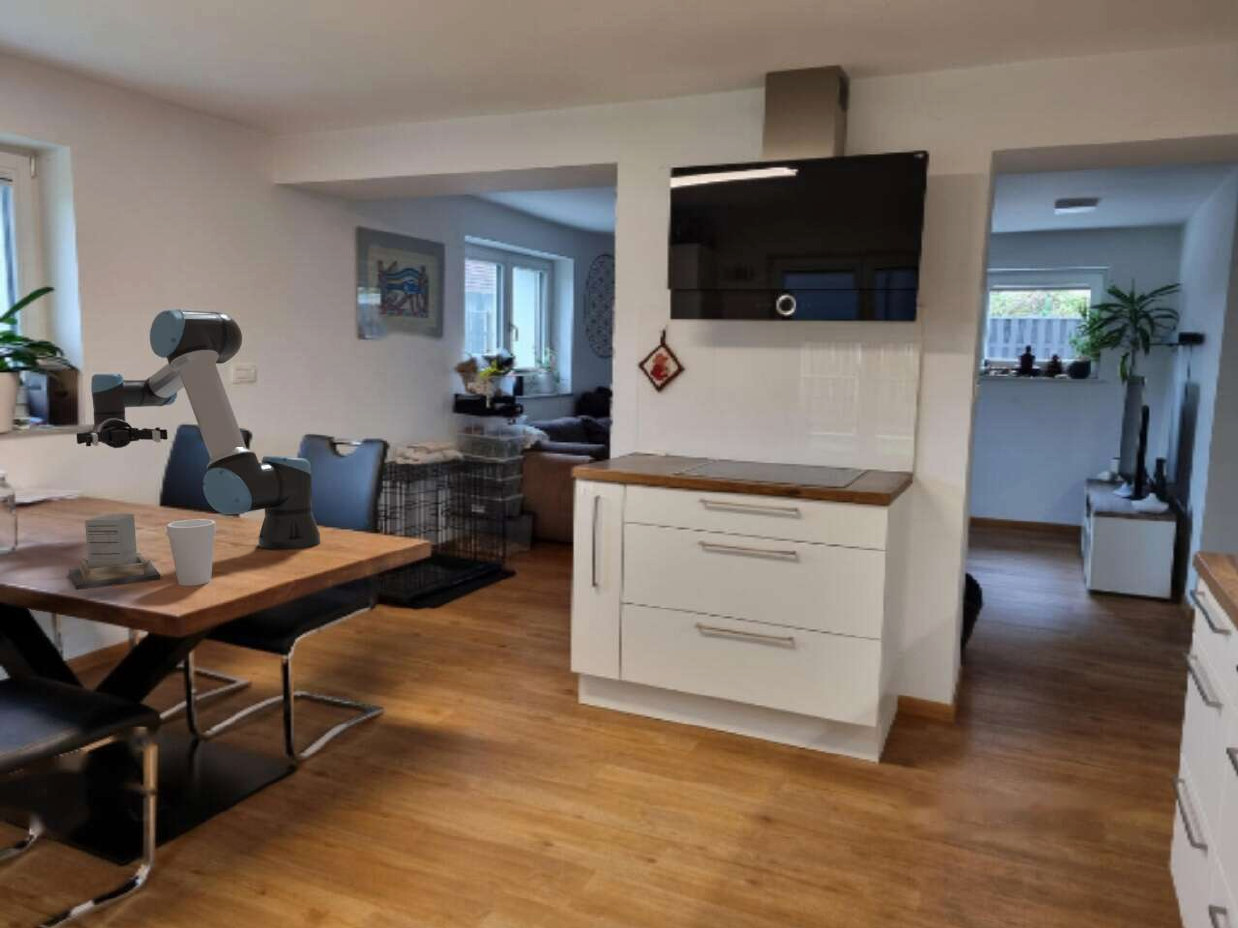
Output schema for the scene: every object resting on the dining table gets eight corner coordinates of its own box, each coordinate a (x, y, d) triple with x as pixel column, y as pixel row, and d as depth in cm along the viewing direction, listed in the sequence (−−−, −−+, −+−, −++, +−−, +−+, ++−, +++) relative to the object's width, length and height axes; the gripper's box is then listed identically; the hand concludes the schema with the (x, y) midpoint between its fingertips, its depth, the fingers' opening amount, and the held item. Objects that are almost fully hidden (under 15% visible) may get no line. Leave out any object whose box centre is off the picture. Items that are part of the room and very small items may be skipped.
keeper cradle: (149, 564, 204) (148, 550, 203) (160, 578, 191) (159, 563, 191) (69, 574, 194) (68, 559, 194) (75, 590, 182) (74, 573, 181)
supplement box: (104, 568, 196) (101, 513, 194) (138, 568, 197) (135, 513, 195) (87, 576, 189) (83, 519, 187) (123, 576, 189) (119, 519, 188)
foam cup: (225, 576, 194) (222, 519, 192) (207, 587, 185) (204, 527, 183) (182, 576, 193) (179, 519, 192) (162, 587, 184) (158, 527, 183)
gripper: (168, 444, 239) (184, 450, 222) (61, 450, 224) (70, 457, 207) (166, 417, 238) (182, 421, 221) (59, 421, 223) (67, 425, 206)
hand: (128, 438), depth 214 cm, fingers open, 13 cm apart
